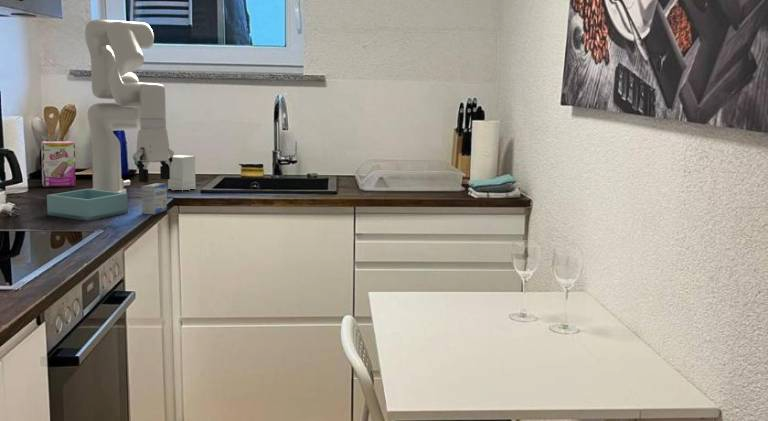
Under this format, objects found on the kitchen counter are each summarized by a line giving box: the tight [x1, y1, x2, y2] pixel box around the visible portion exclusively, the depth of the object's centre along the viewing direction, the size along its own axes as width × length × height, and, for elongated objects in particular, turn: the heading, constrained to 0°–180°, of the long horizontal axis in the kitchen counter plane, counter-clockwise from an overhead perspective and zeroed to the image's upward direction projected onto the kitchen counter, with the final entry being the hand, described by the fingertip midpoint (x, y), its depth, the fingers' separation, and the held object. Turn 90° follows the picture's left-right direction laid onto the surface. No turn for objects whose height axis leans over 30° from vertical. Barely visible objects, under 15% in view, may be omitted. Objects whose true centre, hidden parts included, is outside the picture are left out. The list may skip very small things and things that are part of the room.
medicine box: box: [140, 182, 168, 216], centre depth 233 cm, size 8×4×9 cm, turn 168°
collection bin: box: [46, 188, 129, 222], centre depth 227 cm, size 16×16×6 cm
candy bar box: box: [40, 140, 77, 188], centre depth 279 cm, size 11×5×16 cm, turn 121°
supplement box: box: [167, 154, 196, 192], centre depth 280 cm, size 7×7×13 cm
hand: (154, 180), depth 232 cm, fingers open, 9 cm apart
